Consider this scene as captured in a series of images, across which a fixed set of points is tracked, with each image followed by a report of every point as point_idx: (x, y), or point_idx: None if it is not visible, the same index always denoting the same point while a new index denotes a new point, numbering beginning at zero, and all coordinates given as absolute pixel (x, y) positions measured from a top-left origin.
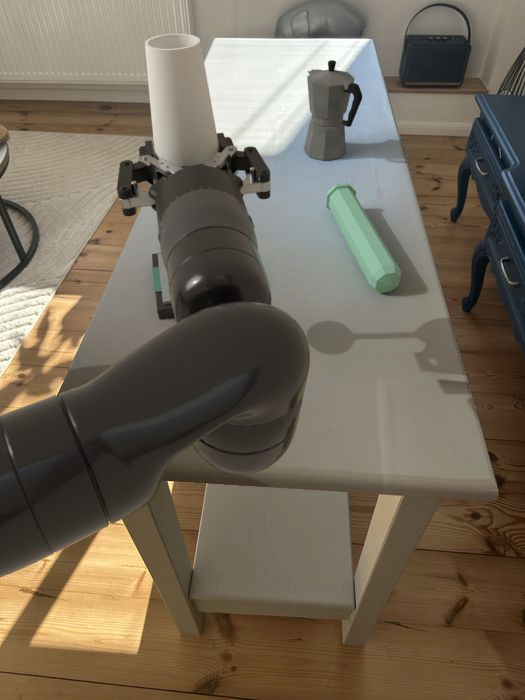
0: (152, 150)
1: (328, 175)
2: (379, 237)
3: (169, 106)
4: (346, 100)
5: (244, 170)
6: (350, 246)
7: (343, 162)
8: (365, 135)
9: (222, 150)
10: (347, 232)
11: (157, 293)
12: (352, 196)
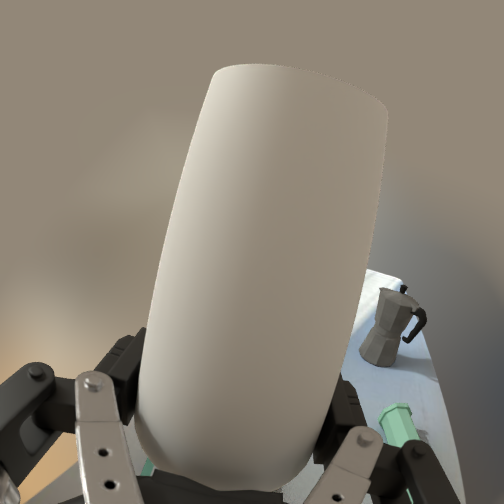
0: (135, 364)
1: (379, 382)
2: None
3: (209, 267)
4: (409, 320)
5: (376, 495)
6: None
7: (392, 371)
8: (409, 349)
9: (334, 431)
10: None
11: None
12: (411, 421)
